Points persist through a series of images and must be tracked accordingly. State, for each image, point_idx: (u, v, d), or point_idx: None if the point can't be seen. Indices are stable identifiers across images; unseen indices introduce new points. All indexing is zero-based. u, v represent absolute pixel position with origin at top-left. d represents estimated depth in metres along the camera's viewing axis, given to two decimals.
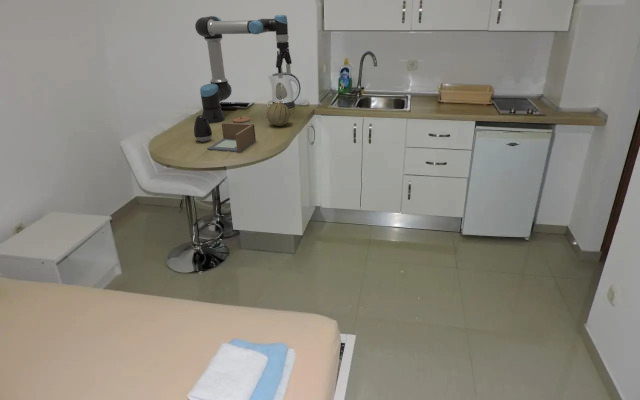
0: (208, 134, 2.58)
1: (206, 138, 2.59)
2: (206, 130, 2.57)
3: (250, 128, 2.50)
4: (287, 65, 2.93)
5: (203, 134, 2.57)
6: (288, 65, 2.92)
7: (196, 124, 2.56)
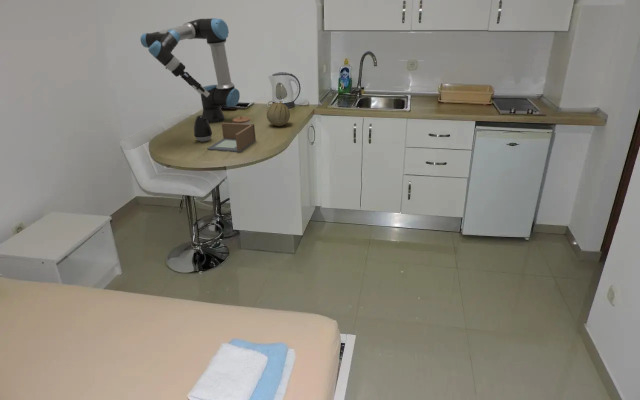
0: (208, 134, 2.58)
1: (206, 138, 2.59)
2: (206, 130, 2.57)
3: (250, 128, 2.50)
4: None
5: (203, 134, 2.57)
6: None
7: (196, 124, 2.56)
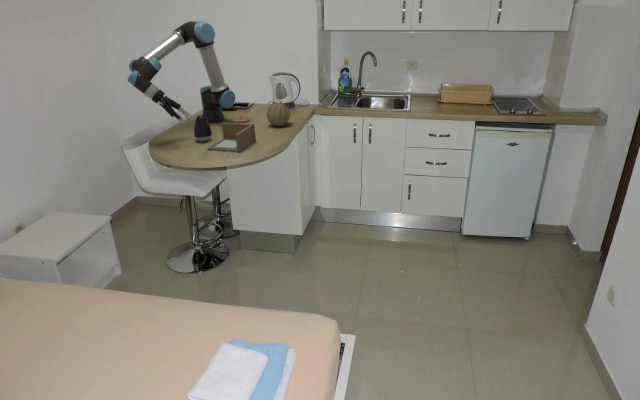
0: (208, 134, 2.58)
1: (206, 138, 2.59)
2: (206, 130, 2.57)
3: (250, 128, 2.50)
4: None
5: (203, 134, 2.57)
6: None
7: (196, 124, 2.56)
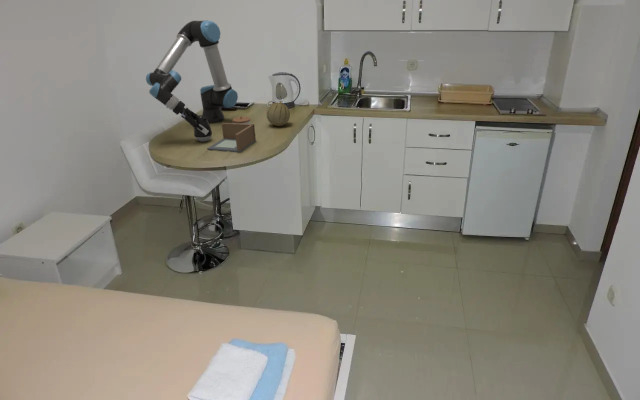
0: (208, 134, 2.58)
1: (206, 138, 2.59)
2: None
3: (250, 128, 2.50)
4: None
5: (203, 134, 2.57)
6: None
7: None
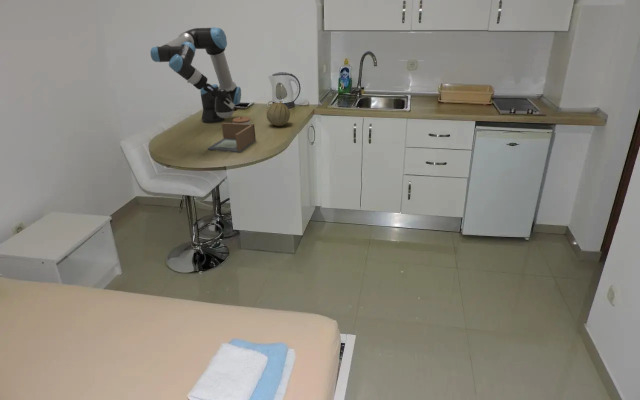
0: (233, 108, 2.42)
1: (231, 113, 2.42)
2: None
3: (250, 128, 2.50)
4: None
5: (229, 108, 2.40)
6: None
7: None
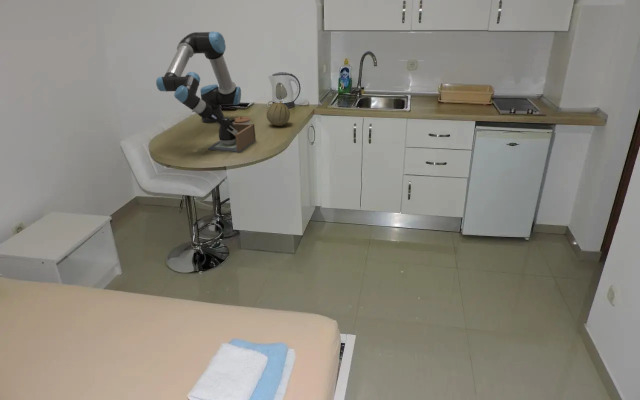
0: None
1: (234, 140, 2.49)
2: None
3: (250, 128, 2.50)
4: None
5: (232, 136, 2.46)
6: None
7: (224, 127, 2.44)
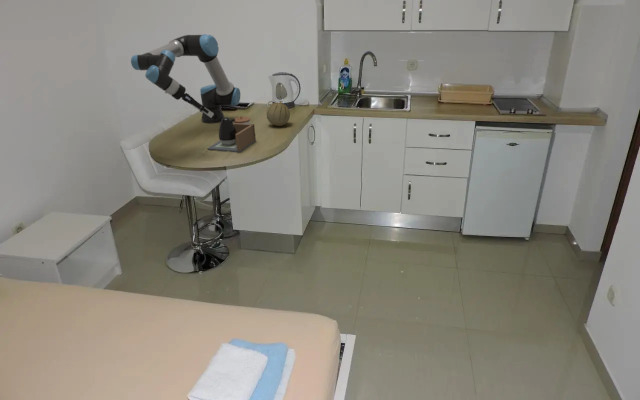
0: None
1: (234, 140, 2.49)
2: (234, 132, 2.47)
3: (250, 128, 2.50)
4: None
5: (232, 136, 2.46)
6: None
7: (224, 127, 2.44)
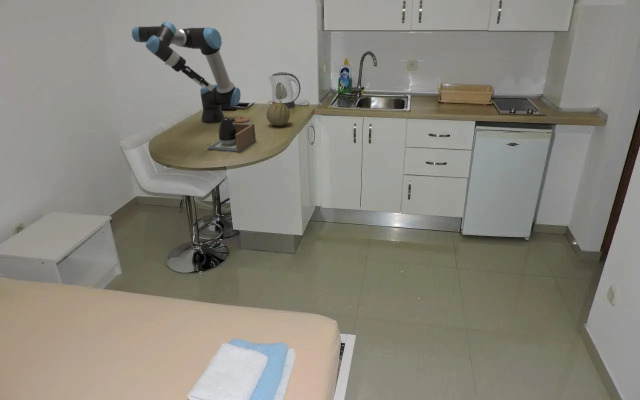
0: None
1: (234, 140, 2.49)
2: (234, 132, 2.47)
3: (250, 128, 2.50)
4: None
5: (232, 136, 2.46)
6: None
7: (224, 127, 2.44)
